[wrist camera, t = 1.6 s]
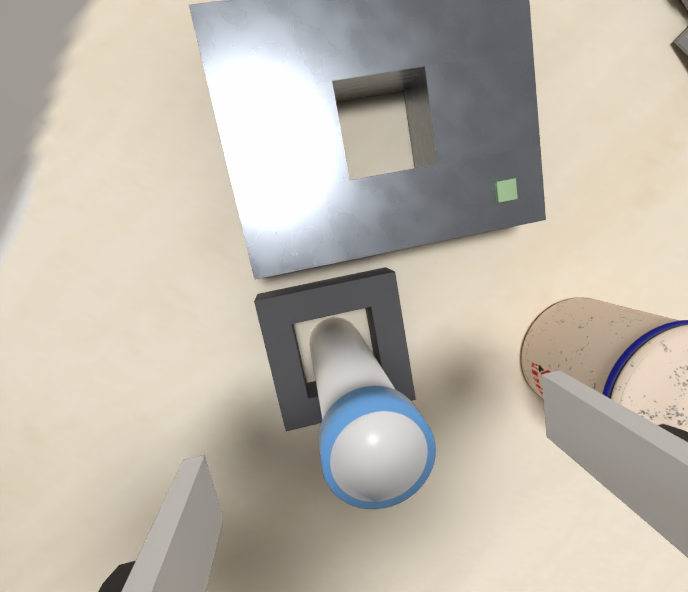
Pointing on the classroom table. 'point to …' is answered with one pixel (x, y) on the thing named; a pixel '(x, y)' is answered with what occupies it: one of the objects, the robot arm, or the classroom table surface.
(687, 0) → the camera
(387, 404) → the plug
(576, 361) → the teacup with lid
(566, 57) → the classroom table surface
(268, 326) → the frame
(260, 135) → the port panel
